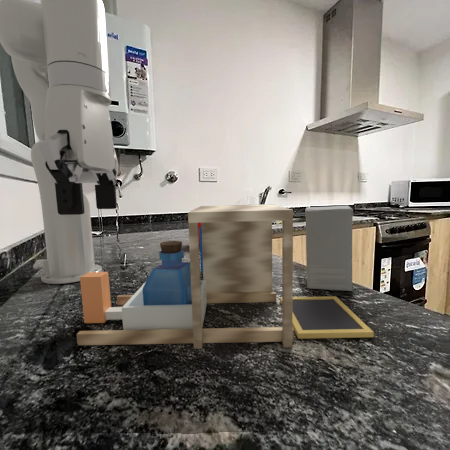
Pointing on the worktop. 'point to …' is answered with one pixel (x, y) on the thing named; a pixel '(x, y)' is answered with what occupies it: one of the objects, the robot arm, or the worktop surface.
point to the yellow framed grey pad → (326, 319)
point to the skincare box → (329, 247)
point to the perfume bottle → (169, 278)
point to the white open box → (133, 307)
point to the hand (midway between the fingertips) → (91, 211)
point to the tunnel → (239, 256)
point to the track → (187, 334)
